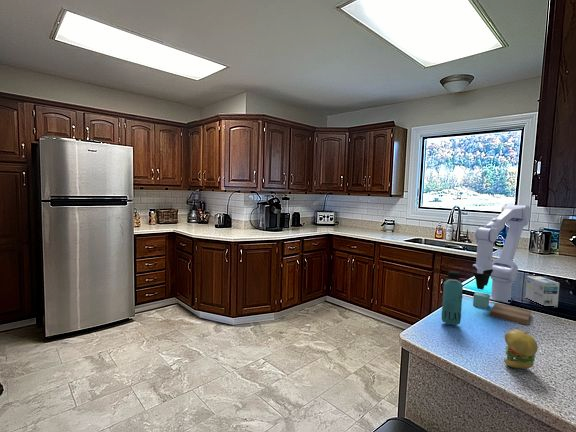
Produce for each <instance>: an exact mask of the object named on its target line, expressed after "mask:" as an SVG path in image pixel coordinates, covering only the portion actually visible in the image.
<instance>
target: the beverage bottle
mask: <svg viewBox="0 0 576 432" xmlns="http://www.w3.org/2000/svg"><path fill="white" fill-rule="evenodd" d="M447 278H450V279H446V280H445V281H444V282H443V293H442V294H443V295H442V304H441V305H442V306H441V321H442V322H443V323H445V324H448V325H453V326H454V325H455V326H457V325H460V324H461V322H462V321H461V318H462V306H463V305H462V304H463V303H462V302H463V289H464V288H463V287H464V285H463V283H462V282H461V281H460V279H461V272H460V271H457V270H449V271H447Z"/></svg>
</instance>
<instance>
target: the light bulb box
mask: <svg viewBox="0 0 576 432" xmlns="http://www.w3.org/2000/svg"><path fill="white" fill-rule="evenodd" d="M525 284H526V285H525V298H528V299H530V300H532V301H534V302H537V303H539V304H541V305H544V306H554V307H553V308H558V307H559V306H558V305H559V293H560V284H561V283H560V282H558V281H554V280H551V279H549V278H547V277H543V276H538V275H537V276H535V275H534V276H533V275H532V276H531V275H526V283H525ZM528 299H527V300H528ZM530 300H529V301H530ZM532 301H531V302H532ZM534 302H533V303H534Z"/></svg>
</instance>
